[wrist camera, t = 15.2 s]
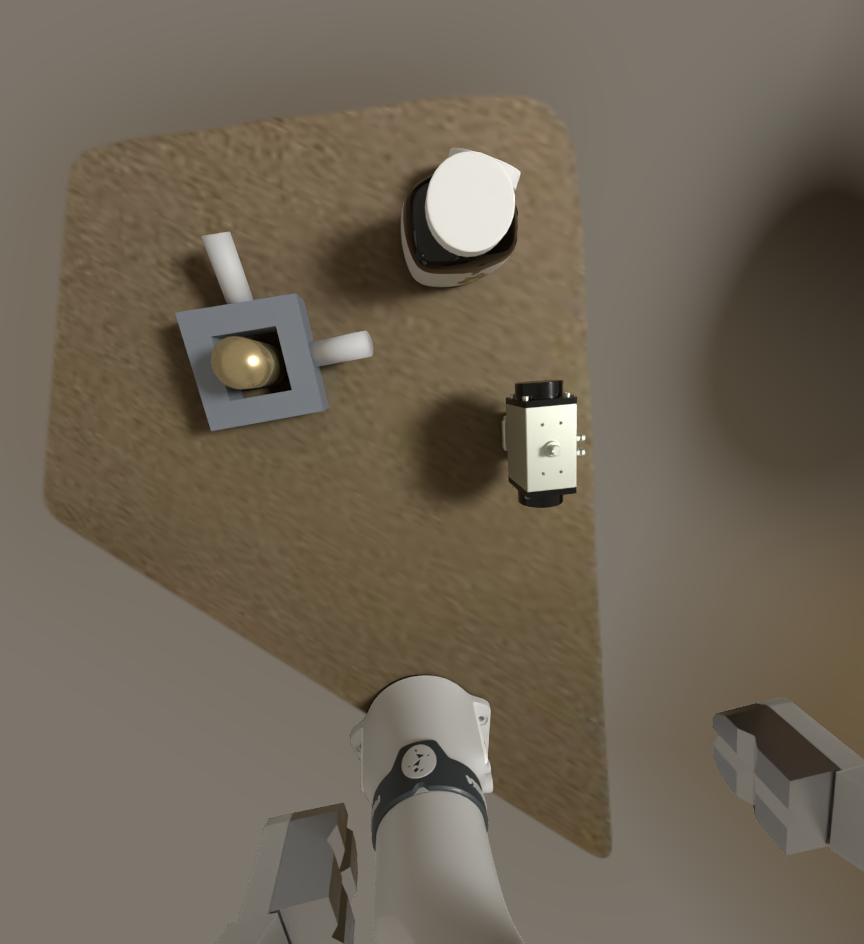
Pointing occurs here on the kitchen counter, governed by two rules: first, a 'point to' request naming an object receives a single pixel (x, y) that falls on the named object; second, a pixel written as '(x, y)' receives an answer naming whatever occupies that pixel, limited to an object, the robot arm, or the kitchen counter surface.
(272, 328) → the coupling block
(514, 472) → the pneumatic valve
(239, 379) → the cylinder
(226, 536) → the kitchen counter surface
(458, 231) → the spread jar
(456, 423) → the kitchen counter surface
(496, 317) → the kitchen counter surface
